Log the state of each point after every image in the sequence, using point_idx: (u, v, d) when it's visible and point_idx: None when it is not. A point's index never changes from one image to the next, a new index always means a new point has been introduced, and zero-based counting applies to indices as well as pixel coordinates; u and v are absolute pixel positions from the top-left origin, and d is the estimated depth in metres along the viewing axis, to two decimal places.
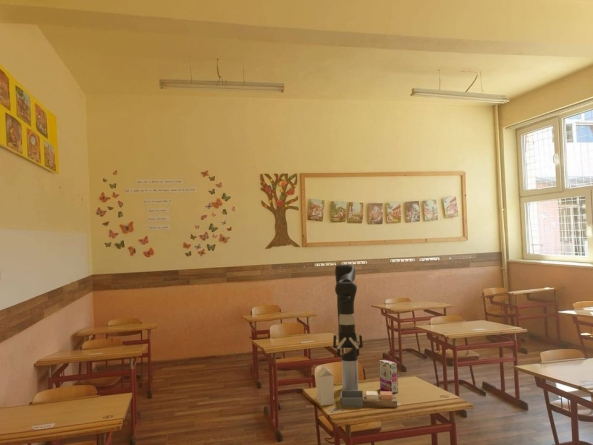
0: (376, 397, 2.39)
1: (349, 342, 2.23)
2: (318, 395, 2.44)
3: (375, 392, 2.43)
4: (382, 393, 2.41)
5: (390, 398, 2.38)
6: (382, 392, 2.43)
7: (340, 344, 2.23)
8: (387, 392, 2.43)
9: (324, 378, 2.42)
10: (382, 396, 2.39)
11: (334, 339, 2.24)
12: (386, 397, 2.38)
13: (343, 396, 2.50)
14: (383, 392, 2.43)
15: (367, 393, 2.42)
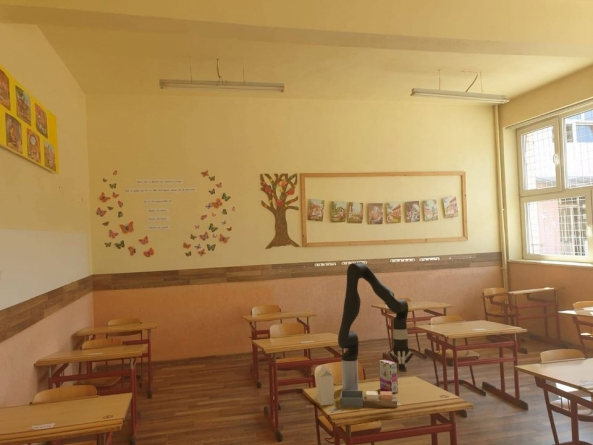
0: (376, 397, 2.39)
1: (400, 354, 2.41)
2: (318, 395, 2.44)
3: (375, 392, 2.43)
4: (382, 393, 2.41)
5: (390, 398, 2.38)
6: (382, 392, 2.43)
7: (399, 359, 2.40)
8: (387, 392, 2.43)
9: (324, 378, 2.42)
10: (382, 396, 2.39)
11: (392, 356, 2.41)
12: (386, 397, 2.38)
13: (343, 396, 2.50)
14: (383, 392, 2.43)
15: (367, 393, 2.42)
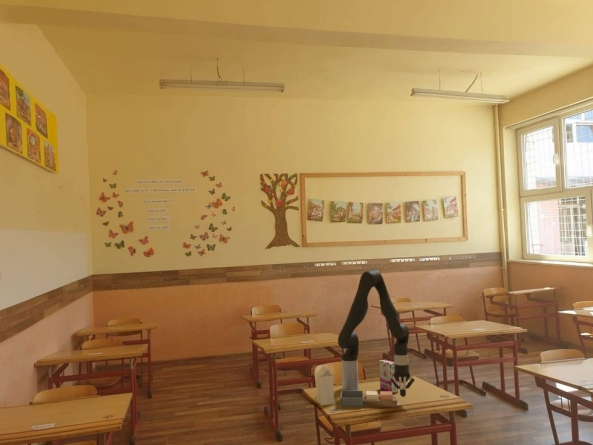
0: (376, 397, 2.39)
1: (401, 379, 2.40)
2: (318, 395, 2.44)
3: (375, 392, 2.43)
4: (382, 393, 2.41)
5: (390, 398, 2.38)
6: (382, 392, 2.43)
7: (400, 384, 2.39)
8: (387, 392, 2.43)
9: (324, 378, 2.42)
10: (382, 396, 2.39)
11: (393, 382, 2.40)
12: (386, 397, 2.38)
13: (343, 396, 2.50)
14: (383, 392, 2.43)
15: (367, 393, 2.42)
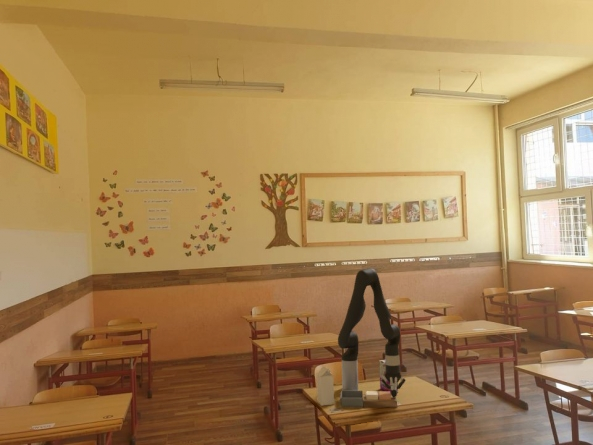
0: (376, 397, 2.39)
1: (392, 380, 2.41)
2: (318, 395, 2.44)
3: (375, 392, 2.43)
4: (380, 393, 2.41)
5: (388, 398, 2.38)
6: (380, 392, 2.43)
7: (391, 385, 2.40)
8: (385, 392, 2.43)
9: (324, 378, 2.42)
10: (380, 396, 2.39)
11: (384, 382, 2.41)
12: (384, 397, 2.39)
13: (343, 396, 2.50)
14: (381, 392, 2.43)
15: (367, 393, 2.42)
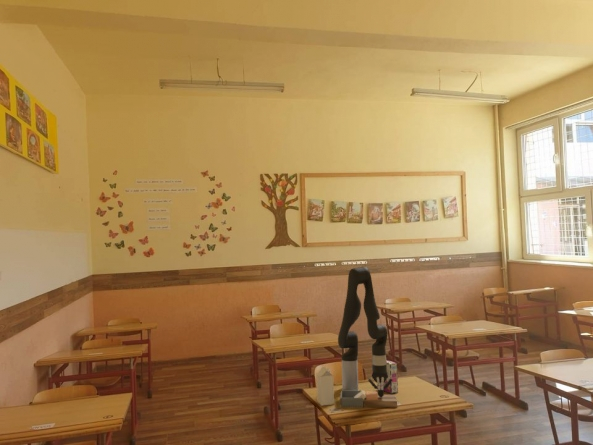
0: (363, 396, 2.40)
1: (379, 380, 2.41)
2: (318, 395, 2.44)
3: (361, 392, 2.44)
4: (367, 393, 2.42)
5: (375, 398, 2.39)
6: (367, 392, 2.43)
7: (378, 385, 2.41)
8: (372, 392, 2.44)
9: (324, 378, 2.42)
10: (367, 396, 2.39)
11: (371, 382, 2.42)
12: (371, 397, 2.39)
13: (343, 396, 2.50)
14: (368, 392, 2.43)
15: None
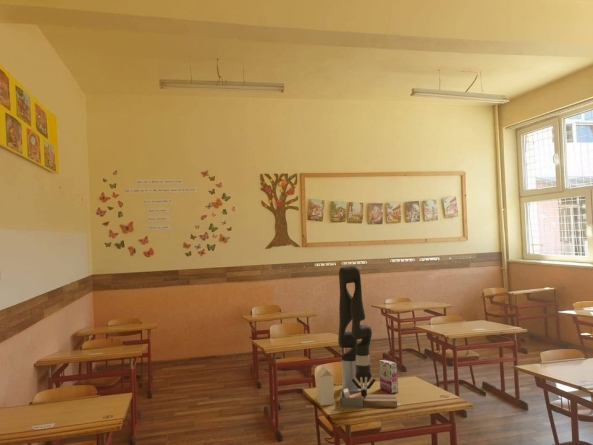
0: (346, 393, 2.41)
1: (362, 380, 2.42)
2: (318, 395, 2.44)
3: None
4: (351, 396, 2.42)
5: None
6: (352, 395, 2.44)
7: (361, 385, 2.42)
8: (356, 394, 2.44)
9: (324, 378, 2.42)
10: None
11: (354, 382, 2.43)
12: None
13: (343, 396, 2.50)
14: (352, 395, 2.44)
15: None
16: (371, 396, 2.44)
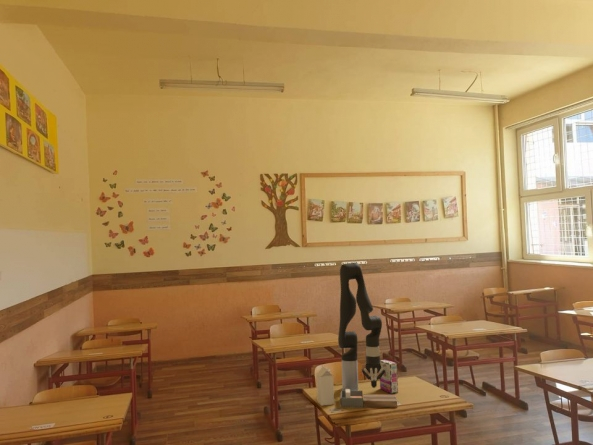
0: (348, 394, 2.41)
1: (372, 370, 2.42)
2: (318, 395, 2.44)
3: None
4: None
5: None
6: (352, 397, 2.44)
7: (371, 375, 2.42)
8: (357, 396, 2.44)
9: (324, 378, 2.42)
10: None
11: (364, 373, 2.43)
12: None
13: (343, 396, 2.50)
14: (353, 397, 2.44)
15: None
16: (371, 396, 2.44)
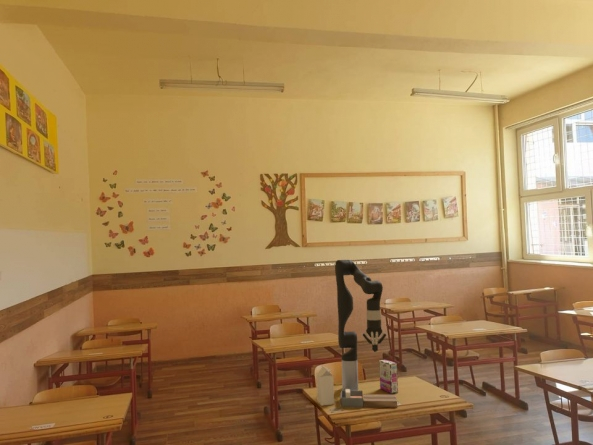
0: (348, 394, 2.41)
1: (373, 334, 2.43)
2: (318, 395, 2.44)
3: None
4: None
5: None
6: (352, 397, 2.44)
7: (372, 339, 2.42)
8: (357, 396, 2.44)
9: (324, 378, 2.42)
10: None
11: (365, 337, 2.43)
12: None
13: (343, 396, 2.50)
14: (353, 397, 2.44)
15: None
16: (371, 396, 2.44)
